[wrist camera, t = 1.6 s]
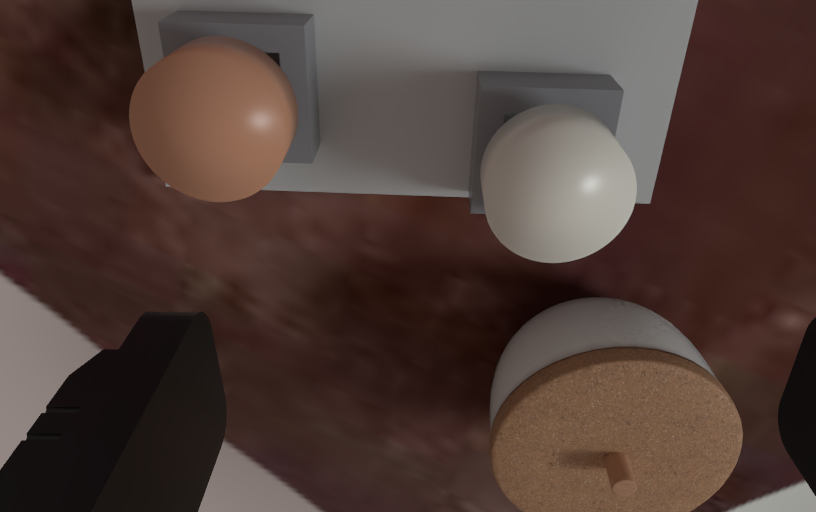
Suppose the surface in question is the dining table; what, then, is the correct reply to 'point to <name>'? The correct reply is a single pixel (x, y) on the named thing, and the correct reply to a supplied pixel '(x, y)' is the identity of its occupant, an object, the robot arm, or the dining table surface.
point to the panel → (442, 79)
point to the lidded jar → (608, 414)
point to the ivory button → (556, 184)
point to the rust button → (214, 118)
